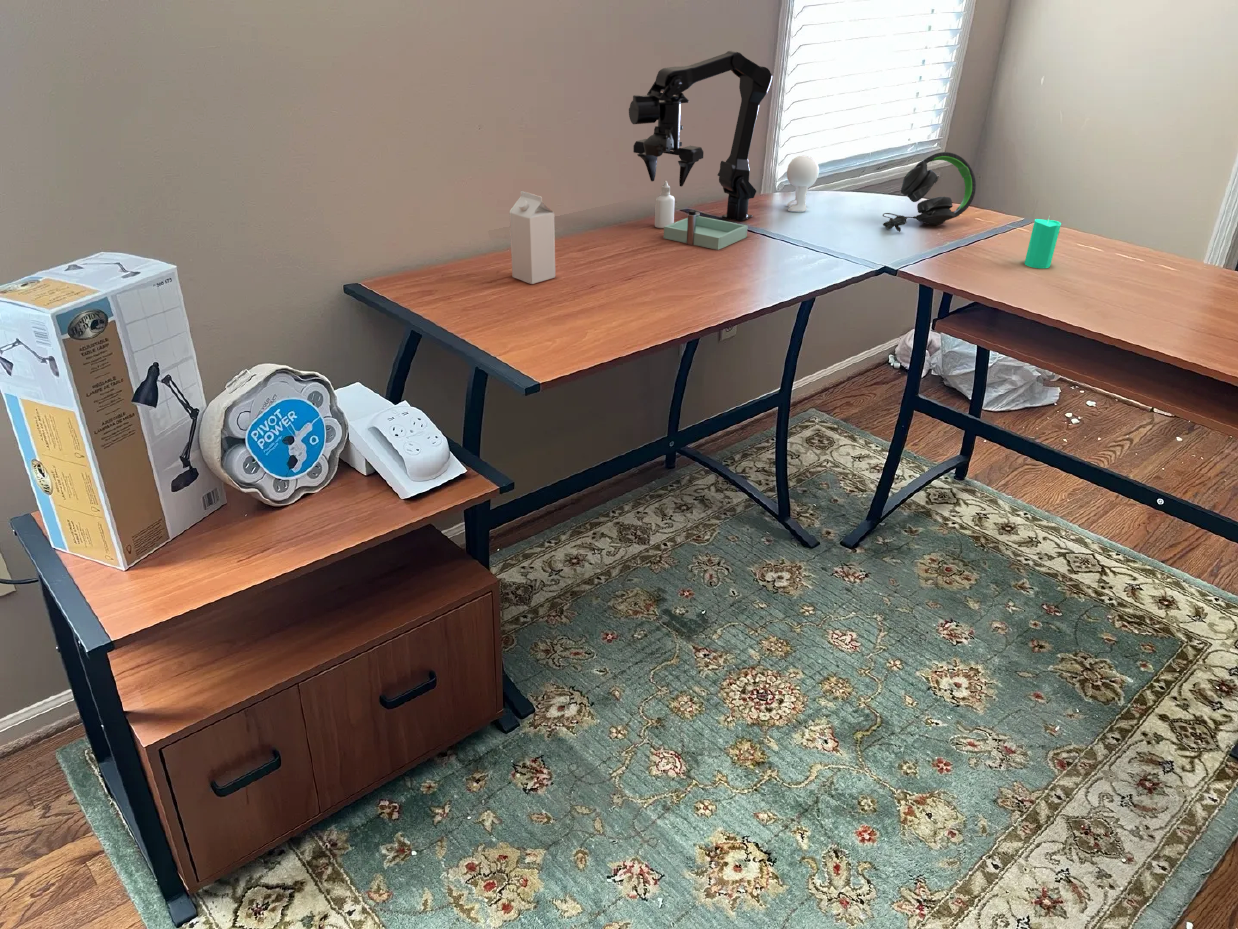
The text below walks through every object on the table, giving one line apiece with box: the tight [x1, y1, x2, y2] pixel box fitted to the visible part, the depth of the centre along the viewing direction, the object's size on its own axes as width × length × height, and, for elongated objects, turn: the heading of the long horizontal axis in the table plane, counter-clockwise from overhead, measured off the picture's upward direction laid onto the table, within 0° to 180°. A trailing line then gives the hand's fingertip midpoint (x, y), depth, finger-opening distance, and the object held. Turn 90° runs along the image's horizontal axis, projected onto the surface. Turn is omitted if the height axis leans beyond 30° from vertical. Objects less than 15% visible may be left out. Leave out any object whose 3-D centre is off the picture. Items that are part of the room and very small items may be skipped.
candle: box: [1023, 214, 1062, 270], centre depth 219 cm, size 6×6×12 cm
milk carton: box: [508, 190, 556, 285], centre depth 204 cm, size 7×7×19 cm
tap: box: [685, 209, 701, 246], centre depth 232 cm, size 4×2×8 cm, turn 143°
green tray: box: [663, 215, 749, 251], centre depth 238 cm, size 15×17×3 cm
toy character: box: [786, 155, 820, 213], centre depth 262 cm, size 9×9×15 cm
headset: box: [881, 151, 977, 233], centre depth 247 cm, size 18×14×29 cm
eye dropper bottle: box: [654, 180, 676, 229], centre depth 244 cm, size 4×6×12 cm
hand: (666, 183), depth 242 cm, fingers open, 9 cm apart
